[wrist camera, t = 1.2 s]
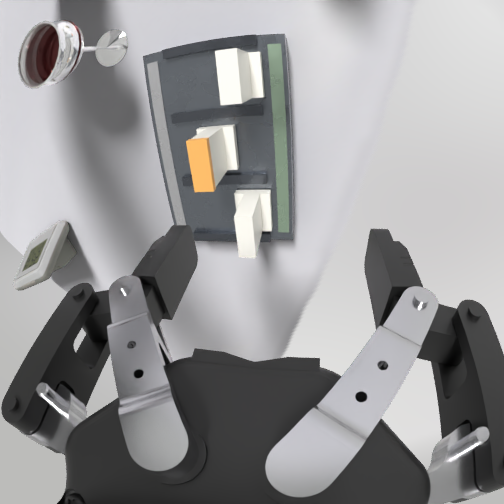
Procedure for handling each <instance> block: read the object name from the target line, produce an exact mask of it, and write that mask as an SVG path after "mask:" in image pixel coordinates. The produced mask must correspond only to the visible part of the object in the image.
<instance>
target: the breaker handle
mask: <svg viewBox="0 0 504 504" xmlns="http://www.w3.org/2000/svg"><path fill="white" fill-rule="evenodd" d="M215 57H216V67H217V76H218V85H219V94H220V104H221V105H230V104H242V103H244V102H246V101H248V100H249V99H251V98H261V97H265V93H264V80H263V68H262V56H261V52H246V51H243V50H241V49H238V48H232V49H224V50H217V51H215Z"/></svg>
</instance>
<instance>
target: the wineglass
mask: <svg viewBox="0 0 504 504" xmlns="http://www.w3.org/2000/svg"><path fill="white" fill-rule="evenodd" d="M127 46H128V42H127V38H126V36H125V34H124V33H123V32H122V31H119V30H111V31H108V32H106V33H105V34H104V35H103V36H102V37H101V38H100V39H99V41H98V43H97V46H84V37H83V34H82V31H81V29H80V28H79V27H78V26H77V25H75V24H74V23H73V22H71V21H67V20H59V21H55V22H49V21H44V22H40V23H38V24H37V25H35V26H34V27H33V28H32V29H31V30H30V31H29V33H28V34H27V35H26V37H25V39H24V41H23V43H22V45H21V48H20V52H19V57H18V71H19V75H20V78H21V81H22V82H23V83H24V85H25V86H26V87H28V88H31V89H36V88H39V87H41V86H43V85H54V84H56V83H58V82H60V81H62V80H64V79H65V78H67V77H68V76H69V75H70V74H71V73H72V72H73V71H74V70H75V69H76V67H77V65H78V64H79V62H80V60H81V57H82V54H83V52H89V51H95V53H96V58H97V60H98V62H99V63H100V64H101V65H103V66H106V67H110V66H113V65H116V64H117V63H118V62H120V61H121V60H122V58H123V57H124V55H125V53H126V51H127Z"/></svg>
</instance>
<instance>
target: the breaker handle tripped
mask: <svg viewBox="0 0 504 504" xmlns="http://www.w3.org/2000/svg"><path fill="white" fill-rule="evenodd" d="M196 131H197V135H196V136H194V137H193V138H191V139H189V140H187V141H186V144H187V151H188V157H189V163H190V168H191V174H192V180H193V186H194V191H195V192H214V191H215V189H216V186H217V185H218V183H219V182H220V180H221V179H222V177H223V176H224V175H225V173H226V172H227V170H238V168H239V167H240V166H239V156H238V147H237V137H236V127H235V124H233V125H220V126H209V127H200V128H198V129H196Z"/></svg>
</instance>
